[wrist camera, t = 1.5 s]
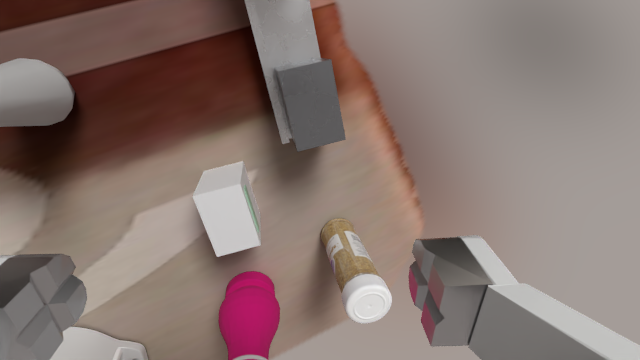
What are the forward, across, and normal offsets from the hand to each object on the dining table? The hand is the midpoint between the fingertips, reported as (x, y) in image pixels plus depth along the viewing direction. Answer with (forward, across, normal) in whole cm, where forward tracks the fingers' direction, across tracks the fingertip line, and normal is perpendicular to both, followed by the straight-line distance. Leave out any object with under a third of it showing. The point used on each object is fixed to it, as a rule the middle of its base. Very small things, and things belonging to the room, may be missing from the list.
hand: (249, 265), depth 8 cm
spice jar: (+28, +6, -20) cm, 35 cm away
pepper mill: (+26, -6, -28) cm, 39 cm away
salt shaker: (+27, -22, -1) cm, 35 cm away
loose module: (+28, -7, -14) cm, 31 cm away
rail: (+30, 0, +5) cm, 31 cm away
